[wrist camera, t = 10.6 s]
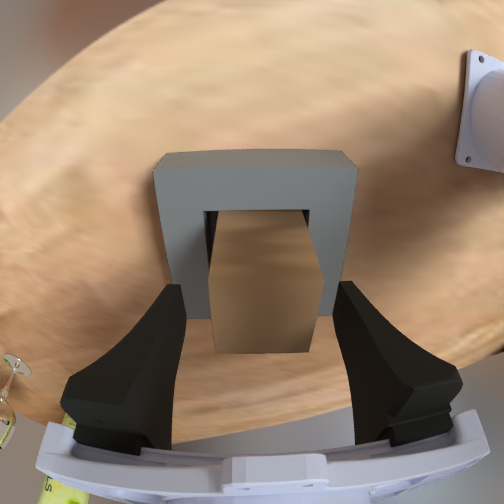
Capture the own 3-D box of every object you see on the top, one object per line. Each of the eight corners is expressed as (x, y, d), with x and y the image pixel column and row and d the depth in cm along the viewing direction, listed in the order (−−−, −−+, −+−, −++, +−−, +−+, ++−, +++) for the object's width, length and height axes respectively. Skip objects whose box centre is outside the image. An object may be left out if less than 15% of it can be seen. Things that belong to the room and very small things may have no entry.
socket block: (341, 150, 17) (358, 168, 14) (324, 286, 23) (332, 315, 20) (166, 153, 17) (152, 171, 14) (186, 288, 23) (180, 318, 20)
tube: (83, 393, 33) (50, 529, 17) (112, 412, 35) (88, 541, 19) (63, 399, 34) (32, 520, 18) (90, 416, 37) (66, 532, 21)
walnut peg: (295, 192, 18) (324, 281, 11) (289, 252, 20) (308, 352, 14) (222, 191, 18) (208, 281, 11) (224, 252, 20) (214, 353, 14)
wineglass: (41, 381, 32) (15, 456, 22) (12, 372, 32) (-16, 441, 22) (23, 355, 29) (-11, 436, 19) (-7, 346, 28) (-41, 419, 19)
